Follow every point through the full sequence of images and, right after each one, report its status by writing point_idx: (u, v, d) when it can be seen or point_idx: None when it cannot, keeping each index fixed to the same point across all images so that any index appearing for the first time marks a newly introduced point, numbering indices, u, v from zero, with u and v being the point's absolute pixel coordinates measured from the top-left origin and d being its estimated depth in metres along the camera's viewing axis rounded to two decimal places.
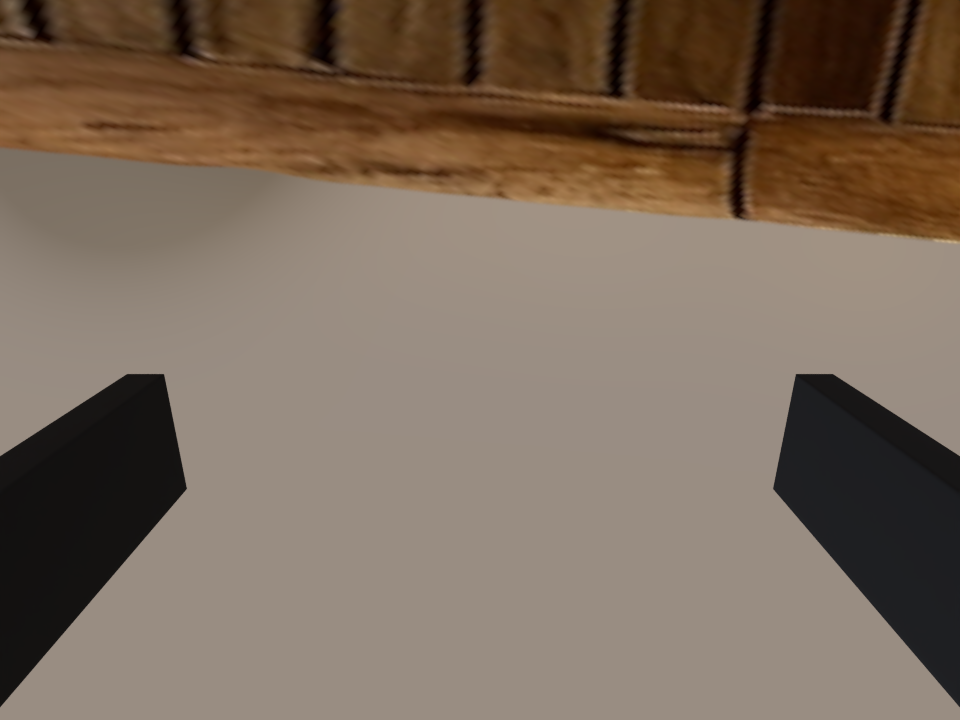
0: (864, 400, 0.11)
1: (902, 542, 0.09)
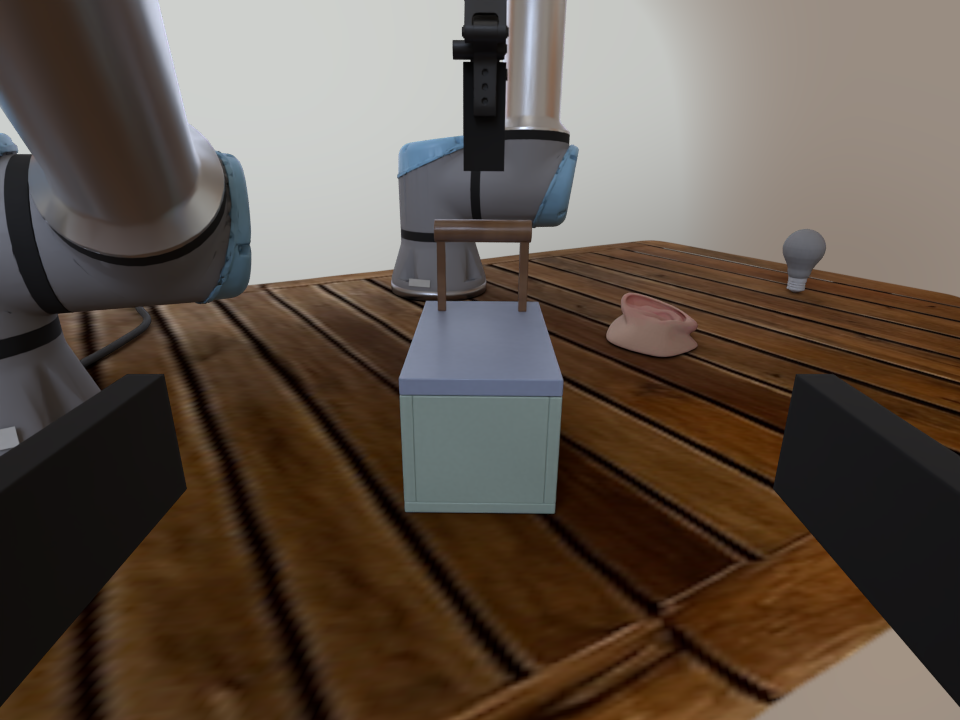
0: (864, 400, 0.11)
1: (903, 541, 0.09)
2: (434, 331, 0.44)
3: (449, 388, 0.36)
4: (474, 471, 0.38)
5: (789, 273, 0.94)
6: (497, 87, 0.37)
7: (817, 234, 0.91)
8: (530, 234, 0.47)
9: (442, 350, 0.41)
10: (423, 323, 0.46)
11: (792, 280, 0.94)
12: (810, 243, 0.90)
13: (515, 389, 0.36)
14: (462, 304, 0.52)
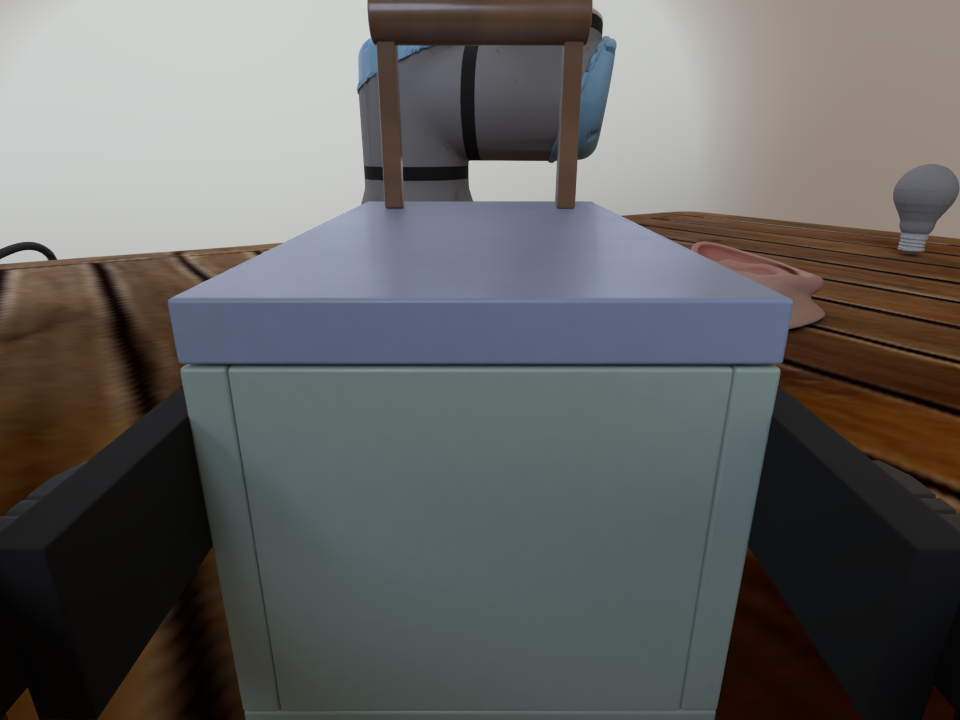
0: None
1: (779, 504, 0.10)
2: (363, 226, 0.18)
3: (361, 337, 0.10)
4: (461, 621, 0.12)
5: (903, 227, 0.68)
6: None
7: (948, 170, 0.65)
8: (589, 16, 0.20)
9: (367, 247, 0.14)
10: (343, 218, 0.20)
11: (908, 237, 0.68)
12: (939, 182, 0.64)
13: (610, 338, 0.10)
14: (439, 203, 0.25)
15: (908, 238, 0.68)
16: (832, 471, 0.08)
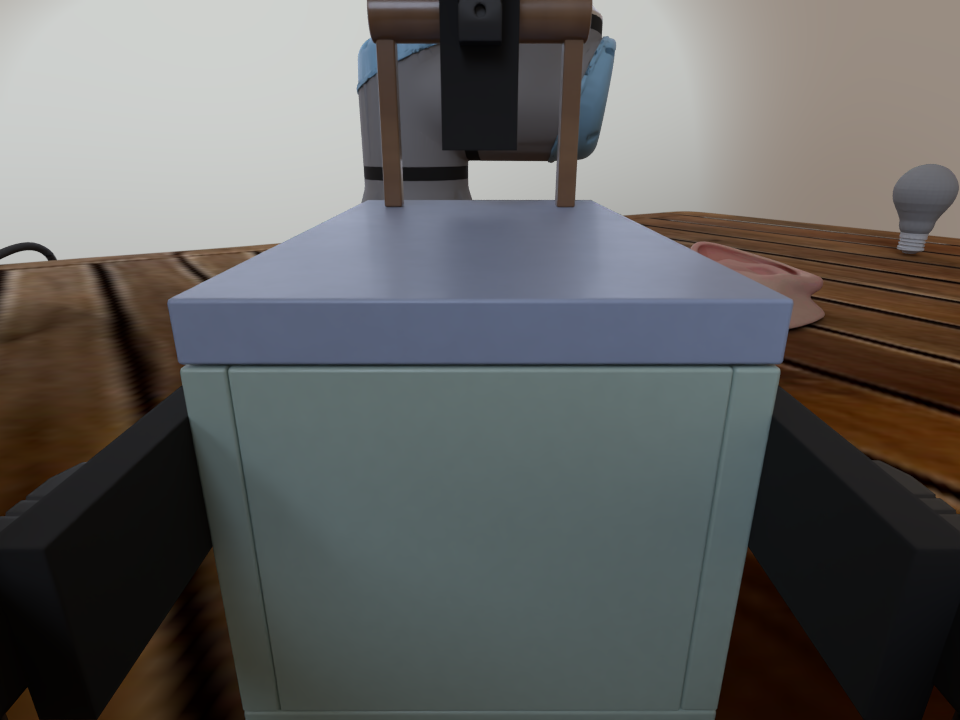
0: None
1: (779, 504, 0.10)
2: (363, 225, 0.18)
3: (361, 337, 0.10)
4: (461, 621, 0.12)
5: (903, 227, 0.68)
6: None
7: (947, 169, 0.65)
8: (588, 14, 0.20)
9: (366, 247, 0.14)
10: (343, 217, 0.20)
11: (907, 237, 0.68)
12: (939, 182, 0.64)
13: (610, 339, 0.10)
14: (439, 202, 0.25)
15: (907, 238, 0.68)
16: (832, 471, 0.08)
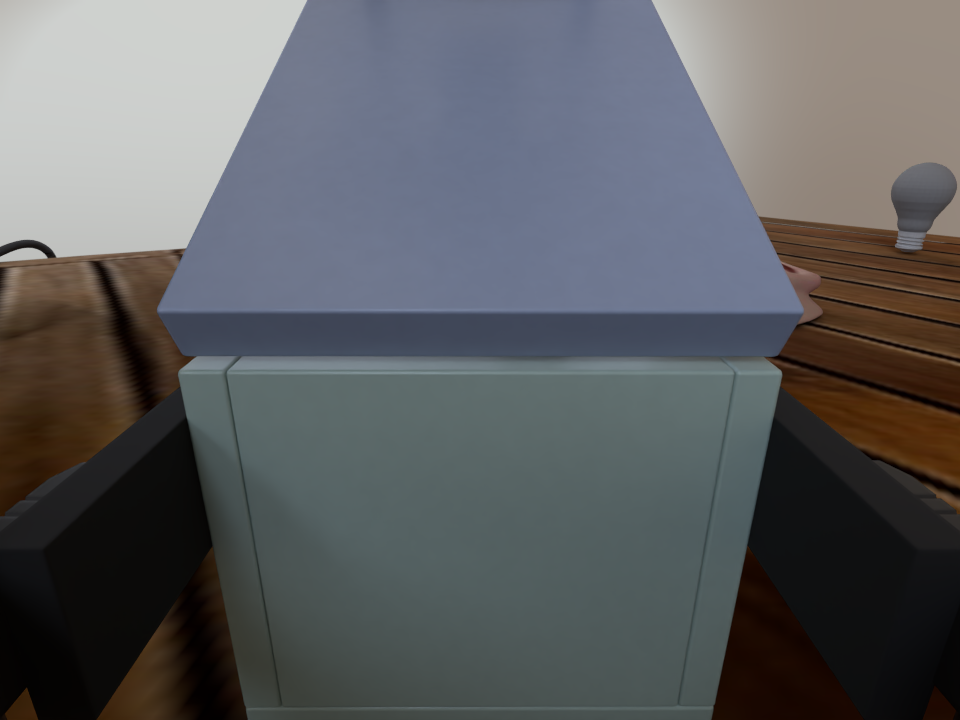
0: None
1: (780, 504, 0.10)
2: (339, 52, 0.15)
3: (361, 339, 0.10)
4: (461, 620, 0.12)
5: (901, 226, 0.68)
6: None
7: (945, 168, 0.65)
8: None
9: (350, 137, 0.12)
10: (312, 17, 0.16)
11: (905, 235, 0.68)
12: (937, 180, 0.64)
13: (611, 340, 0.10)
14: None
15: (906, 236, 0.68)
16: (832, 471, 0.08)
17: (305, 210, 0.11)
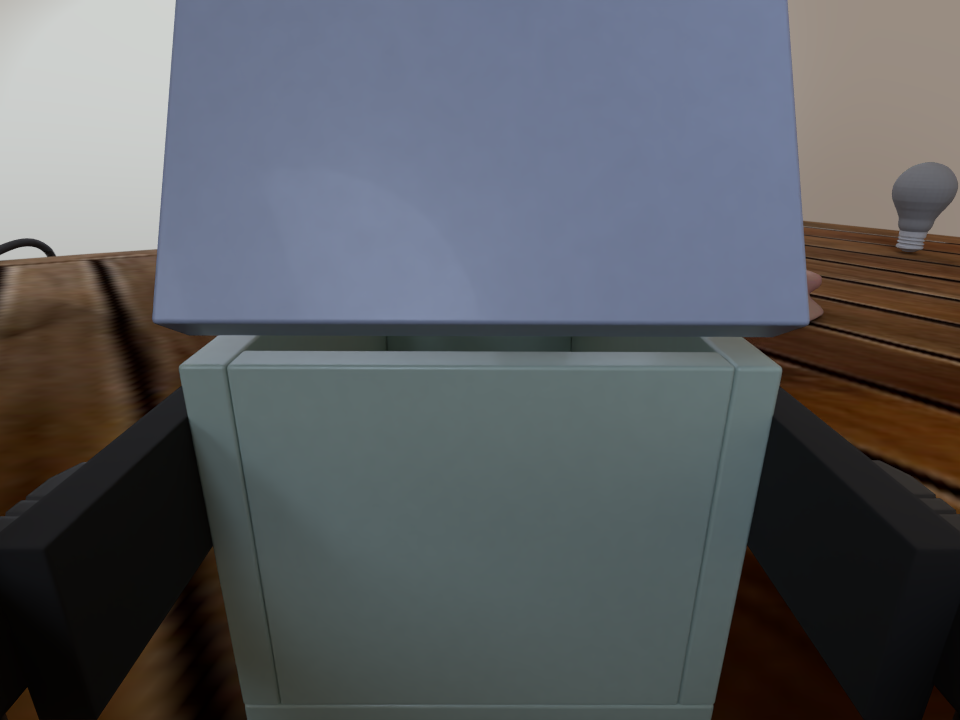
0: None
1: (780, 504, 0.10)
2: None
3: (362, 332, 0.10)
4: (461, 617, 0.12)
5: (902, 225, 0.68)
6: None
7: (946, 168, 0.65)
8: None
9: (315, 19, 0.10)
10: None
11: (906, 235, 0.68)
12: (938, 180, 0.64)
13: (611, 332, 0.10)
14: None
15: (907, 236, 0.68)
16: (832, 471, 0.08)
17: (280, 165, 0.09)
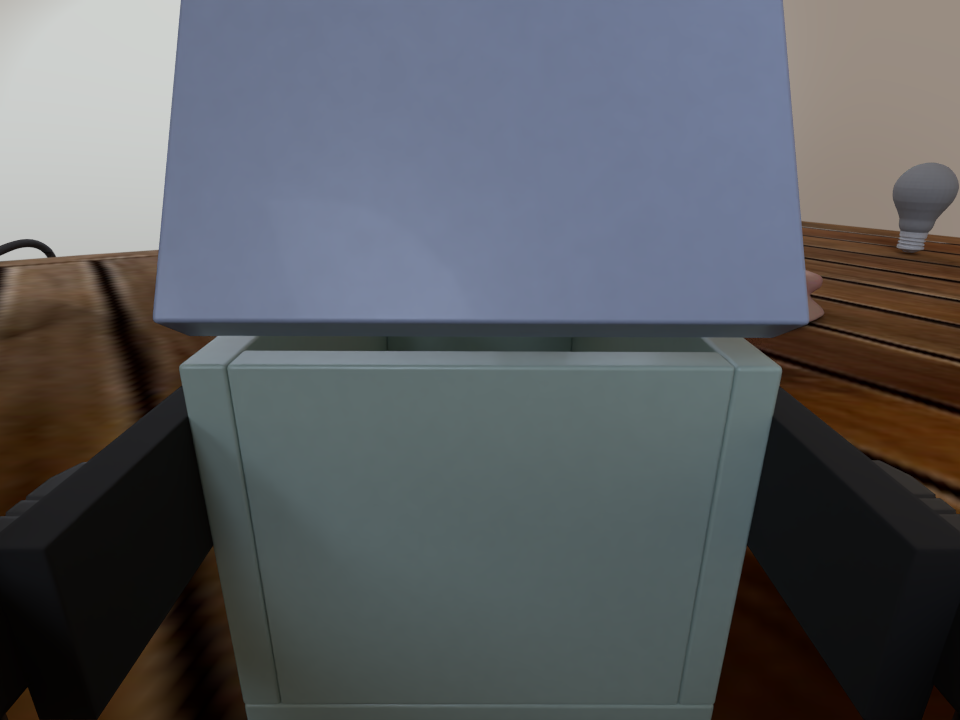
0: None
1: (779, 504, 0.10)
2: None
3: (362, 332, 0.10)
4: (461, 616, 0.12)
5: (903, 226, 0.68)
6: None
7: (947, 168, 0.65)
8: None
9: (318, 23, 0.10)
10: None
11: (907, 235, 0.68)
12: (939, 180, 0.64)
13: (610, 332, 0.10)
14: None
15: (907, 237, 0.68)
16: (832, 471, 0.08)
17: (281, 166, 0.09)
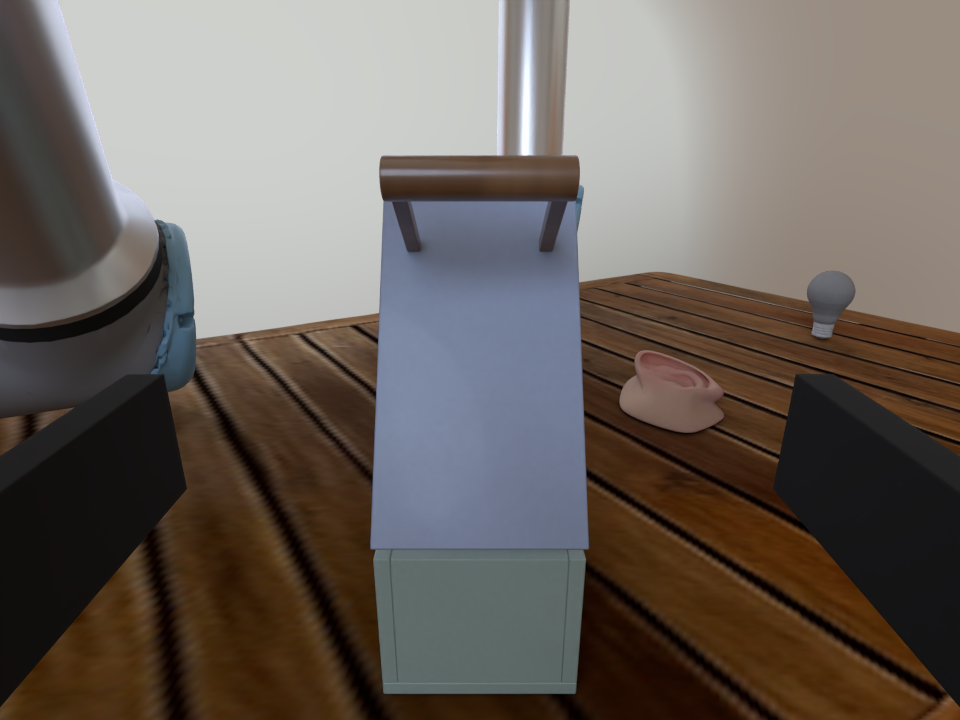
0: (864, 400, 0.11)
1: (902, 542, 0.09)
2: (407, 357, 0.29)
3: None
4: (472, 646, 0.30)
5: (814, 318, 0.86)
6: None
7: (846, 277, 0.82)
8: (573, 199, 0.24)
9: (422, 439, 0.28)
10: (387, 314, 0.29)
11: (818, 326, 0.86)
12: (838, 287, 0.82)
13: None
14: (446, 213, 0.31)
15: (818, 327, 0.86)
16: None
17: (411, 493, 0.27)
